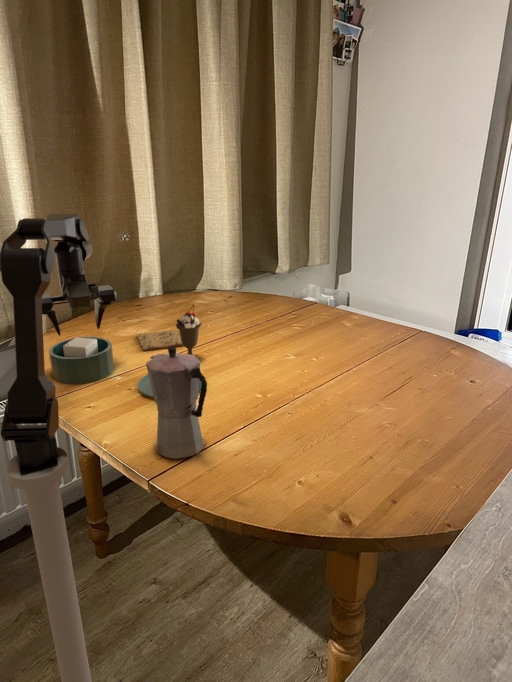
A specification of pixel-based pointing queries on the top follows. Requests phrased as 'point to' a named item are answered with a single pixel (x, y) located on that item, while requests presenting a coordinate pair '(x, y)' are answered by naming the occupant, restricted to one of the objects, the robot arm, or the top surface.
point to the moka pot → (177, 402)
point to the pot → (82, 363)
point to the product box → (80, 348)
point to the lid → (146, 388)
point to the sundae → (189, 330)
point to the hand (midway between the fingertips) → (79, 331)
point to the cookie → (159, 339)
